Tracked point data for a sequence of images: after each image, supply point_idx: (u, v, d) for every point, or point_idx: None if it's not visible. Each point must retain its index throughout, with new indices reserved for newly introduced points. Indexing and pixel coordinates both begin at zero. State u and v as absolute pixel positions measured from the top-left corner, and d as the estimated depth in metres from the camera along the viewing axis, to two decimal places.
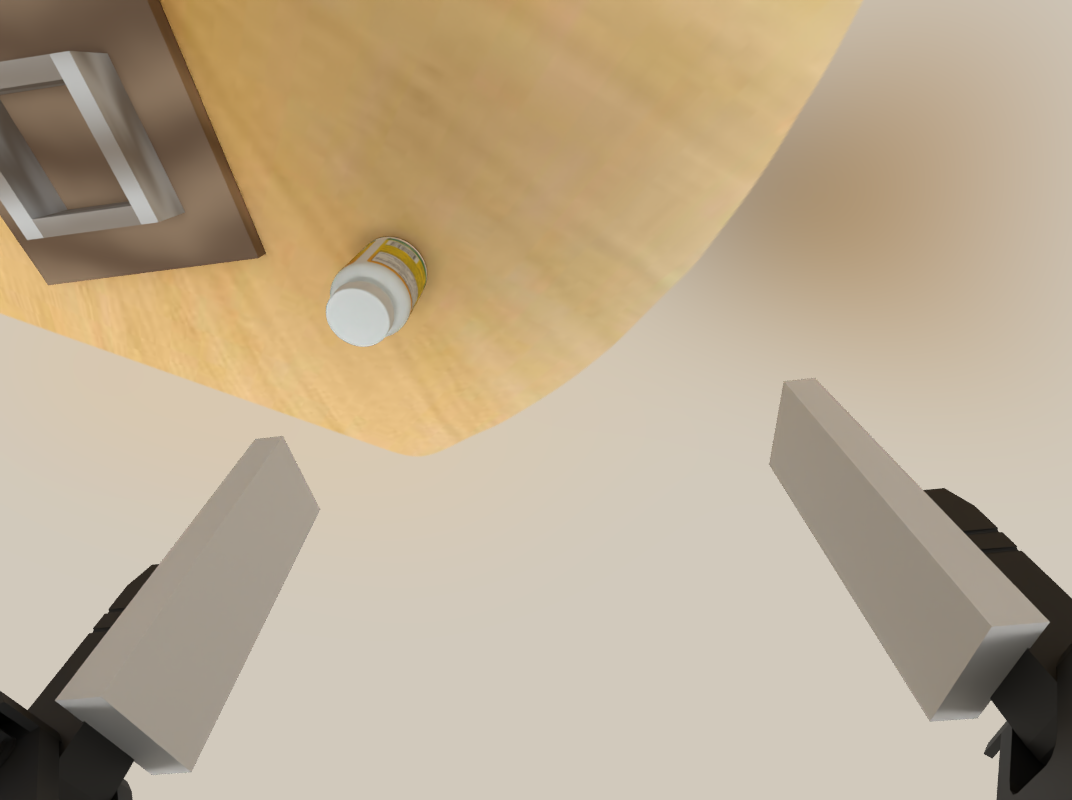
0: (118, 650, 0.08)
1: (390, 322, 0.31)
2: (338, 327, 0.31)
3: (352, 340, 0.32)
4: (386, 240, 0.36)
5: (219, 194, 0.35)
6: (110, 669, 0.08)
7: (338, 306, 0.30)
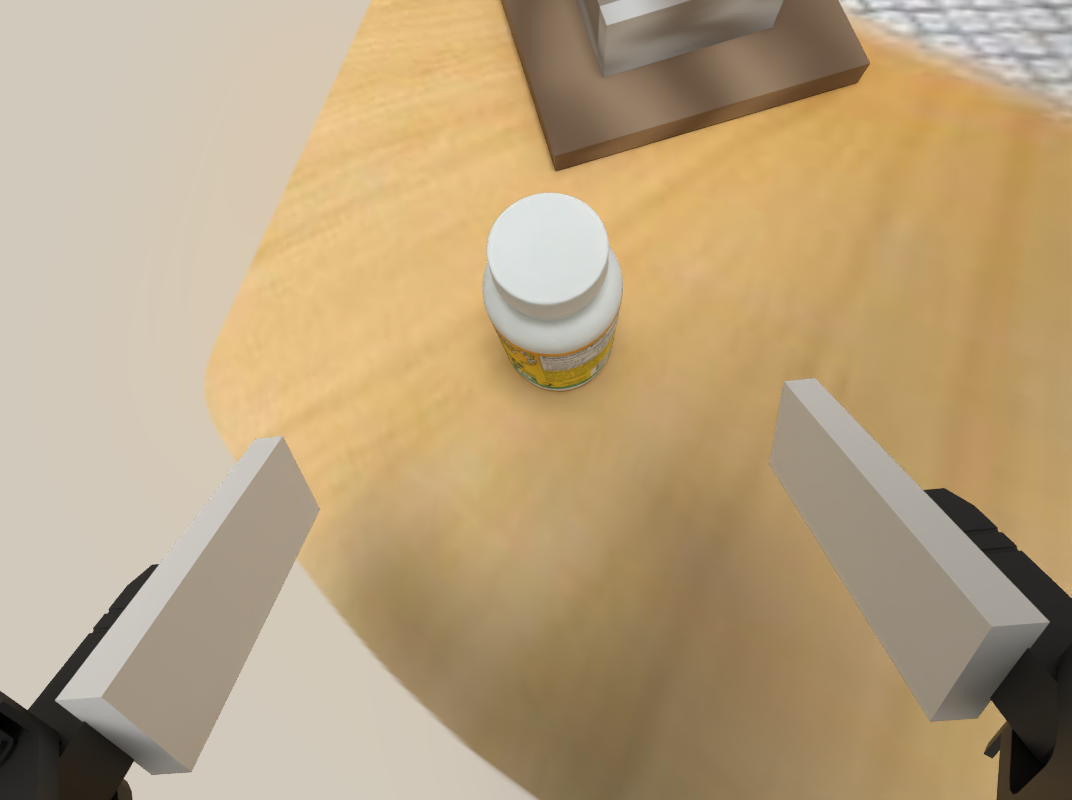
0: (118, 650, 0.08)
1: (544, 307, 0.16)
2: (523, 212, 0.16)
3: (498, 236, 0.16)
4: None
5: (635, 118, 0.26)
6: (110, 669, 0.08)
7: (566, 213, 0.16)
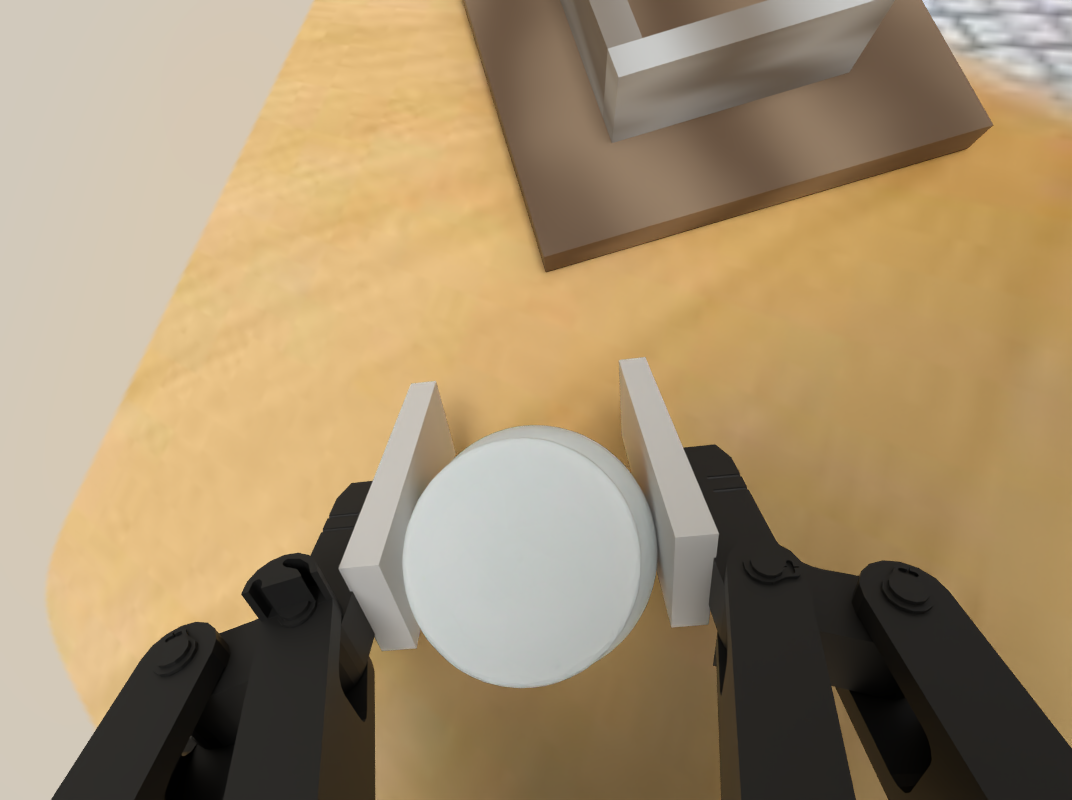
0: (375, 534, 0.10)
1: None
2: (474, 480, 0.08)
3: (425, 531, 0.08)
4: None
5: (657, 203, 0.18)
6: (375, 547, 0.09)
7: (558, 485, 0.08)
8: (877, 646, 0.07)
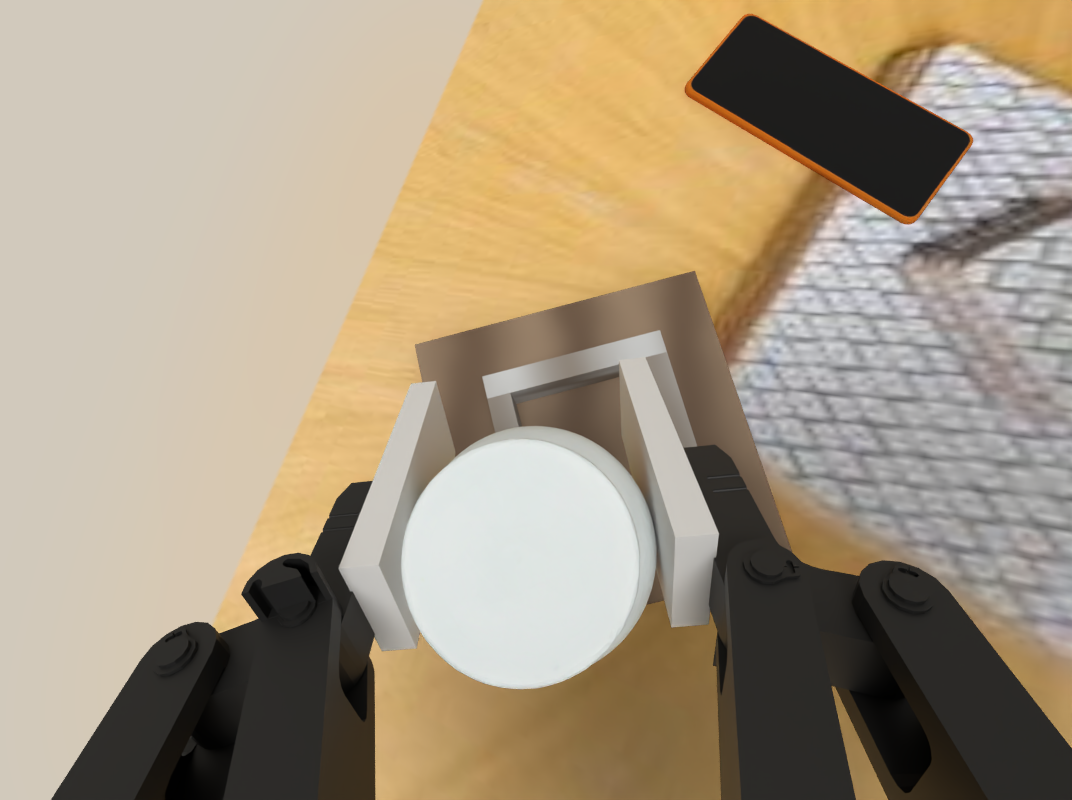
0: (374, 534, 0.10)
1: None
2: (473, 481, 0.08)
3: (424, 532, 0.08)
4: None
5: None
6: (374, 547, 0.09)
7: (557, 486, 0.08)
8: (877, 646, 0.07)
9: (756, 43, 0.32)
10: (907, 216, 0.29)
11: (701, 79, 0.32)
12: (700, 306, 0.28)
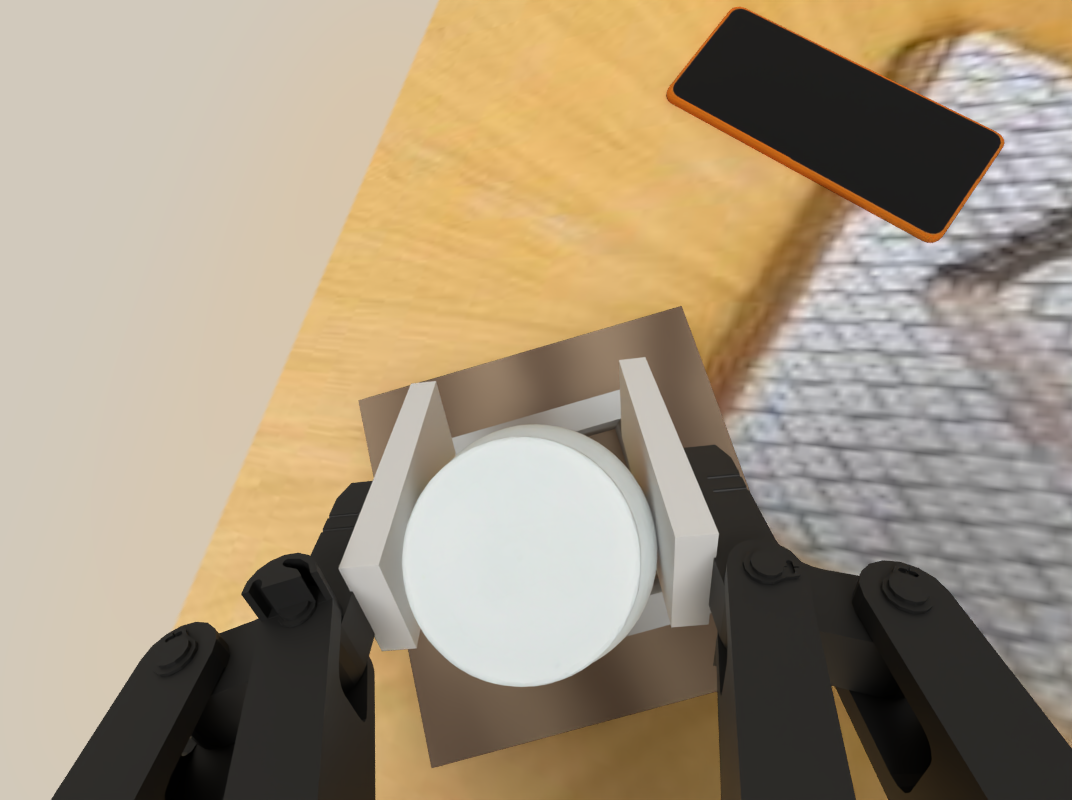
0: (374, 534, 0.10)
1: None
2: (474, 479, 0.08)
3: (425, 530, 0.08)
4: None
5: (529, 720, 0.21)
6: (374, 547, 0.09)
7: (558, 483, 0.08)
8: (877, 646, 0.07)
9: (746, 39, 0.28)
10: (930, 233, 0.25)
11: (684, 83, 0.28)
12: (689, 348, 0.24)
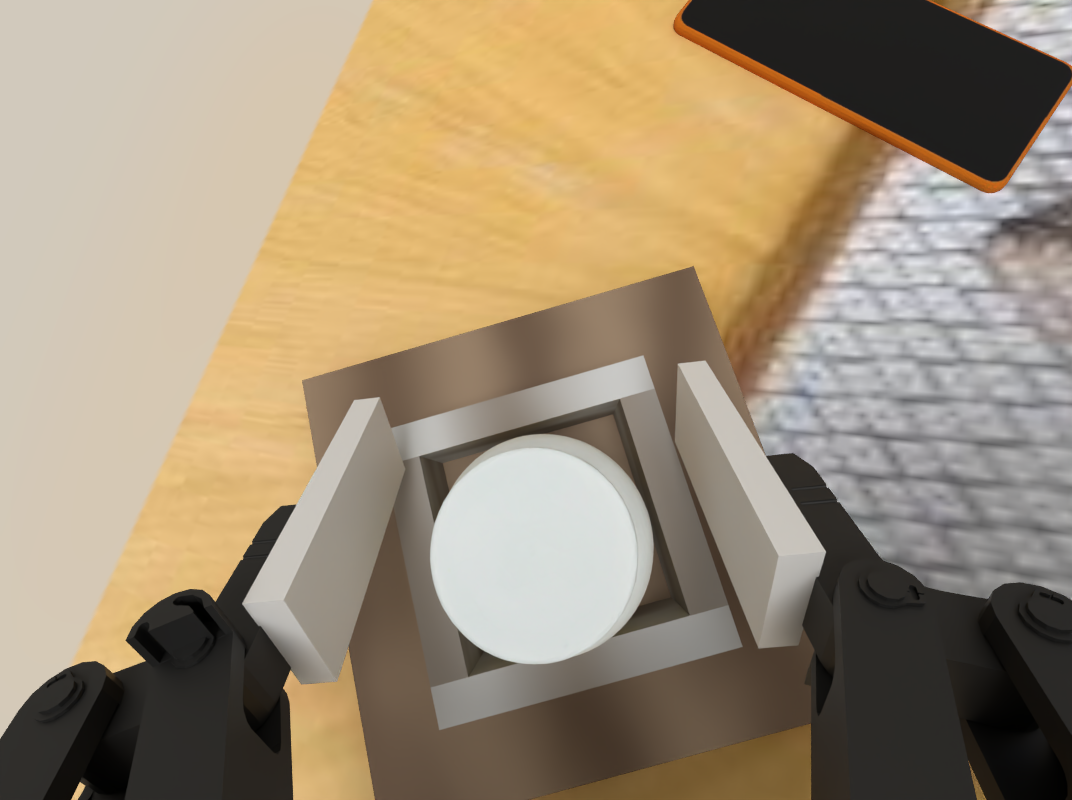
0: (286, 565, 0.09)
1: None
2: (492, 485, 0.10)
3: (450, 529, 0.09)
4: None
5: (505, 778, 0.17)
6: (283, 580, 0.09)
7: (565, 488, 0.09)
8: (1019, 677, 0.07)
9: None
10: (991, 181, 0.21)
11: (695, 10, 0.24)
12: (703, 316, 0.20)
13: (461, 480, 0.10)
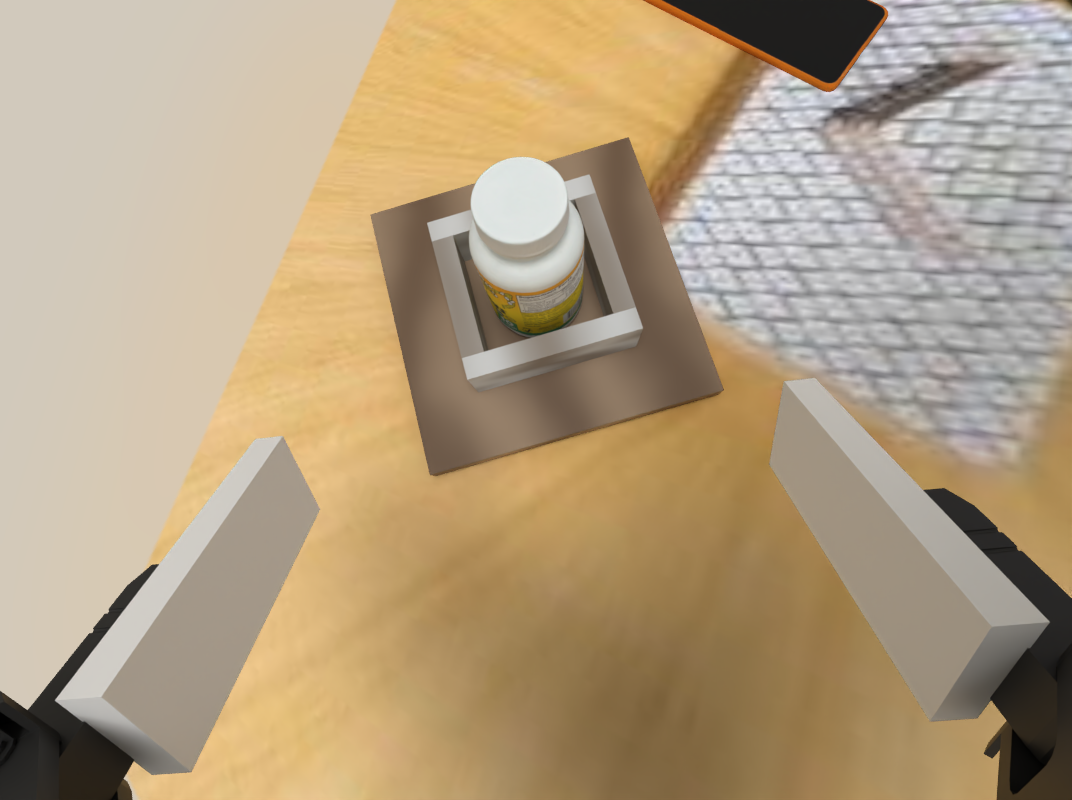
0: (118, 650, 0.08)
1: (517, 246, 0.20)
2: (499, 172, 0.20)
3: (480, 191, 0.20)
4: None
5: (505, 438, 0.28)
6: (110, 669, 0.08)
7: (534, 173, 0.20)
8: None
9: None
10: (828, 83, 0.32)
11: None
12: (634, 168, 0.30)
13: (485, 171, 0.20)
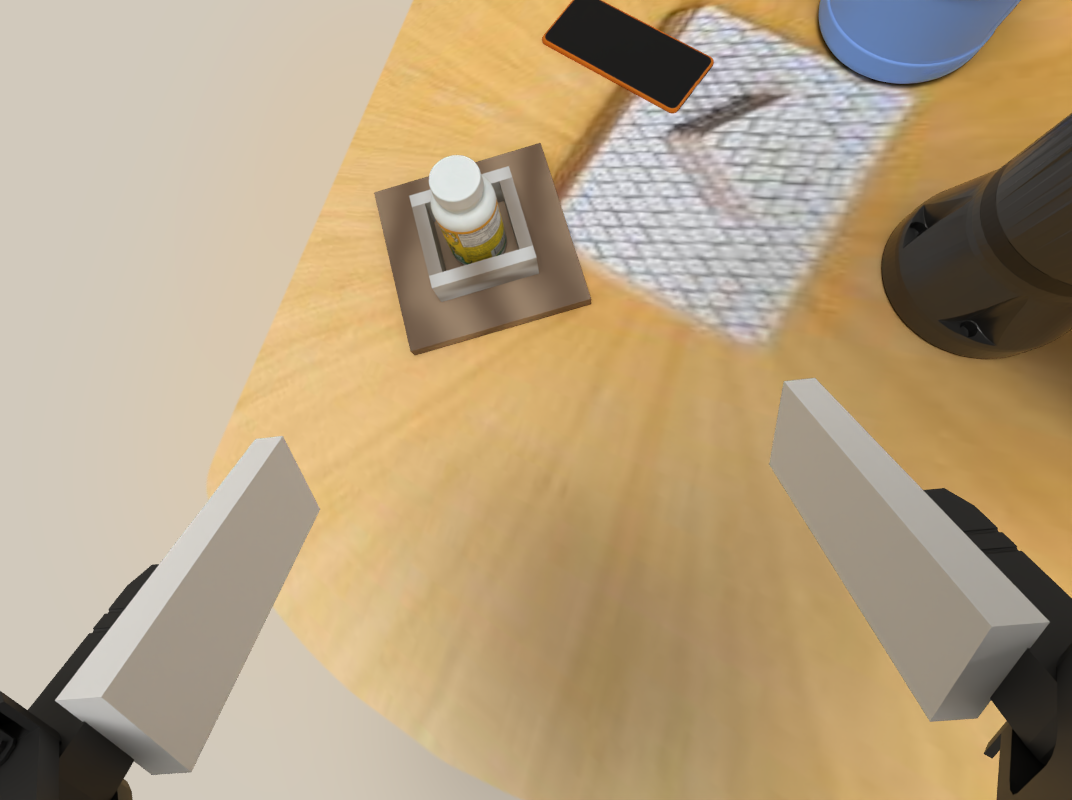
0: (118, 650, 0.08)
1: (453, 203, 0.37)
2: (444, 163, 0.37)
3: (434, 173, 0.37)
4: (505, 232, 0.45)
5: (457, 329, 0.45)
6: (110, 669, 0.08)
7: (463, 164, 0.37)
8: None
9: (585, 9, 0.52)
10: (671, 108, 0.49)
11: (551, 33, 0.51)
12: (542, 162, 0.47)
13: (436, 163, 0.37)
